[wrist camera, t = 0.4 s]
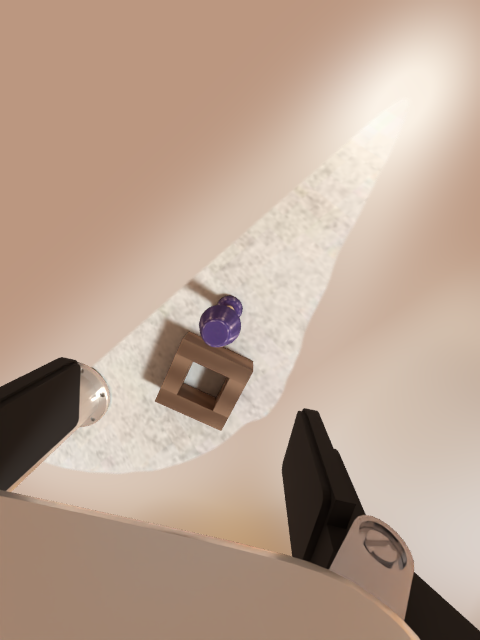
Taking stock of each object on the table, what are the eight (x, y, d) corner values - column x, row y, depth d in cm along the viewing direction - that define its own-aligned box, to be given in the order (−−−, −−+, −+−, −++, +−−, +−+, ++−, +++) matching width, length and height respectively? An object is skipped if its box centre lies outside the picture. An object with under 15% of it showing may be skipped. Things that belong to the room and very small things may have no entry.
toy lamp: (210, 300, 40) (182, 325, 23) (235, 286, 39) (224, 302, 23) (224, 325, 41) (207, 366, 24) (249, 312, 40) (248, 345, 24)
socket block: (223, 416, 44) (221, 430, 41) (163, 389, 44) (154, 401, 40) (252, 361, 42) (253, 371, 38) (189, 331, 41) (182, 338, 37)
